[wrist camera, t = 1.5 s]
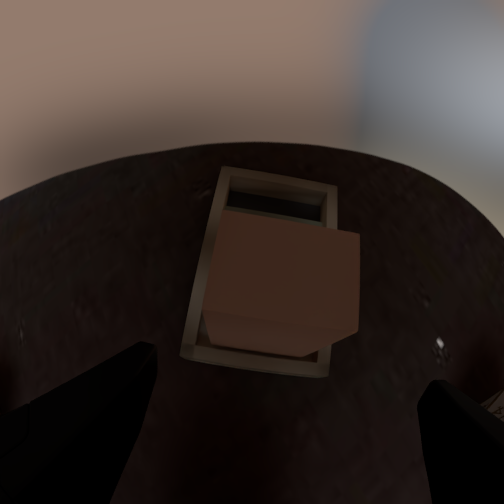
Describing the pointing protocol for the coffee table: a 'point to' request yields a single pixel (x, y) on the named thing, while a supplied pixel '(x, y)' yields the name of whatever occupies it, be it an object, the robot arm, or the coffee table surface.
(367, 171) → the coffee table surface
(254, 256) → the terracotta block
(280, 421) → the coffee table surface
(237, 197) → the box
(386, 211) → the coffee table surface
